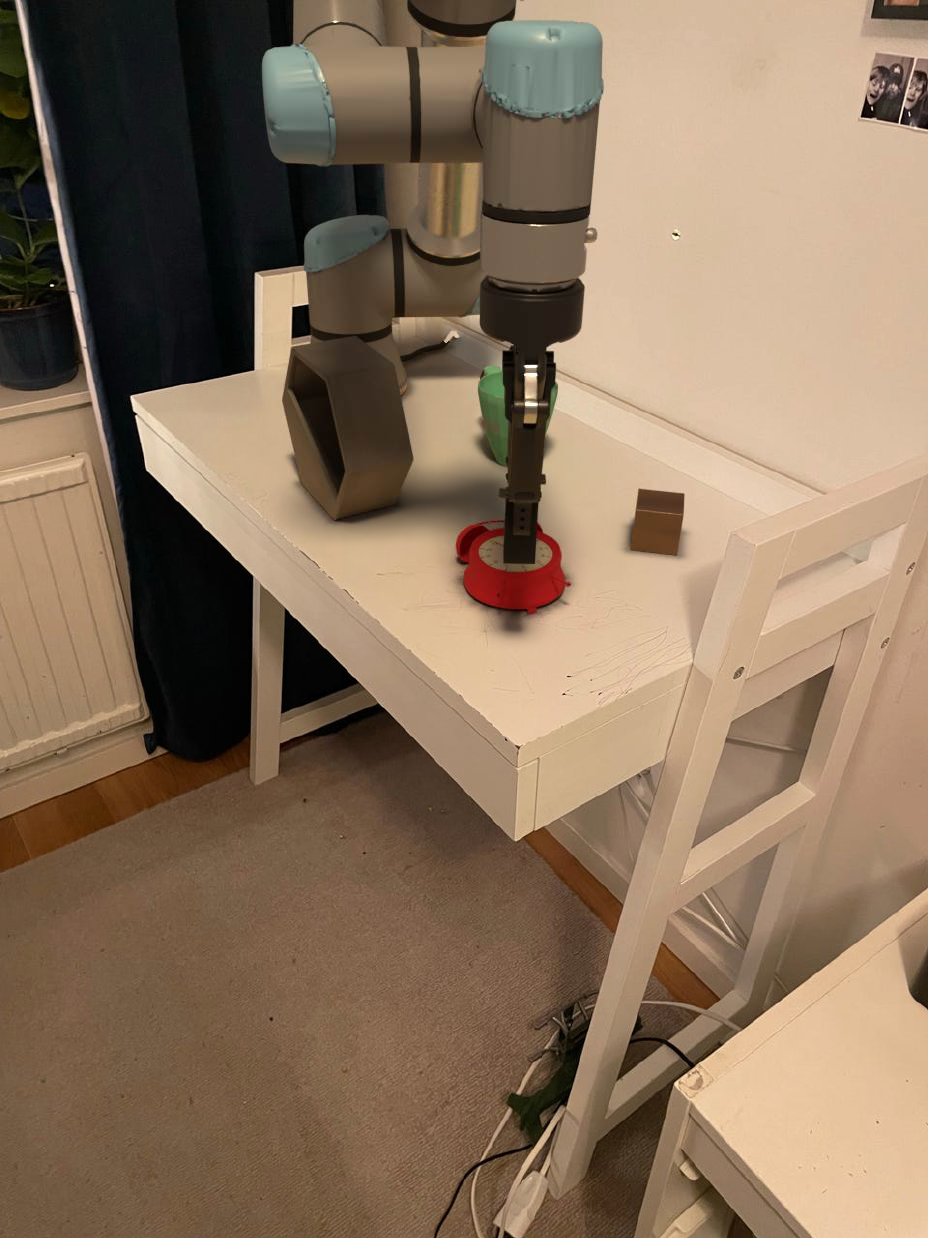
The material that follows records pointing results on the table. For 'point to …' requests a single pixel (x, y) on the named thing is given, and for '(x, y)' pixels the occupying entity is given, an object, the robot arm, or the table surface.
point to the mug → (499, 410)
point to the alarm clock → (509, 569)
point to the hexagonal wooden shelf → (347, 425)
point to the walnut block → (658, 521)
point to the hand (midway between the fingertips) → (518, 559)
